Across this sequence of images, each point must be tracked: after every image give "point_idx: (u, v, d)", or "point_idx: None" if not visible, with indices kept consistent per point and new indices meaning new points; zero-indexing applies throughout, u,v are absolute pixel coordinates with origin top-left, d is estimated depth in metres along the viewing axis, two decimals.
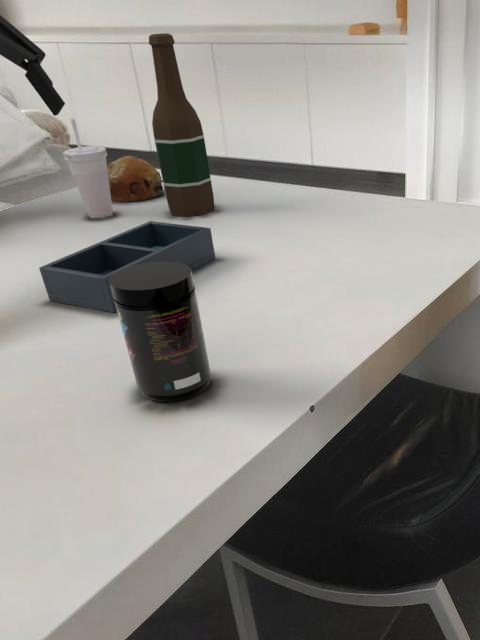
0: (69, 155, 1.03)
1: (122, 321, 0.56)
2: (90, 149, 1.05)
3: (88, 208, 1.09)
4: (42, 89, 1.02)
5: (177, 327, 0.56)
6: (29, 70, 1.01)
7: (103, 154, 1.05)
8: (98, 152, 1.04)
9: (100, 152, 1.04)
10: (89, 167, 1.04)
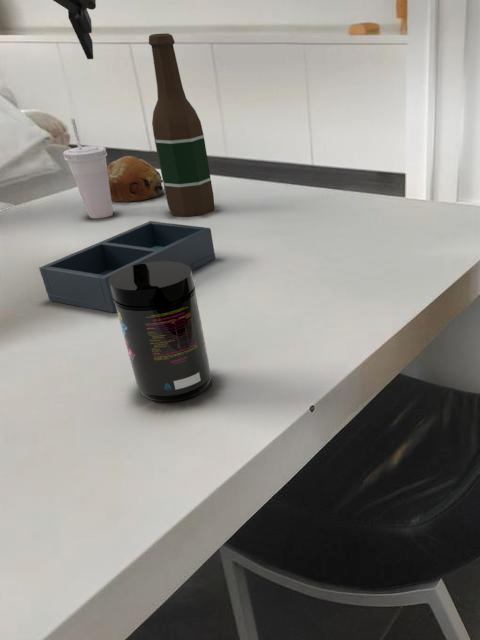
0: (69, 155, 1.03)
1: (122, 321, 0.56)
2: (90, 149, 1.05)
3: (88, 208, 1.09)
4: None
5: (177, 327, 0.56)
6: (68, 10, 0.83)
7: (103, 154, 1.05)
8: (98, 152, 1.04)
9: (100, 152, 1.04)
10: (89, 167, 1.04)
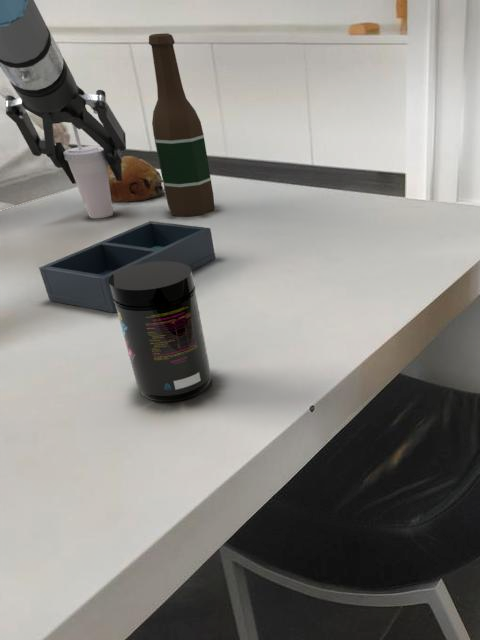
0: (69, 155, 1.03)
1: (122, 321, 0.56)
2: (90, 149, 1.05)
3: (88, 208, 1.09)
4: None
5: (177, 327, 0.56)
6: (104, 149, 1.04)
7: (103, 154, 1.05)
8: (98, 152, 1.04)
9: (100, 152, 1.04)
10: (89, 167, 1.04)
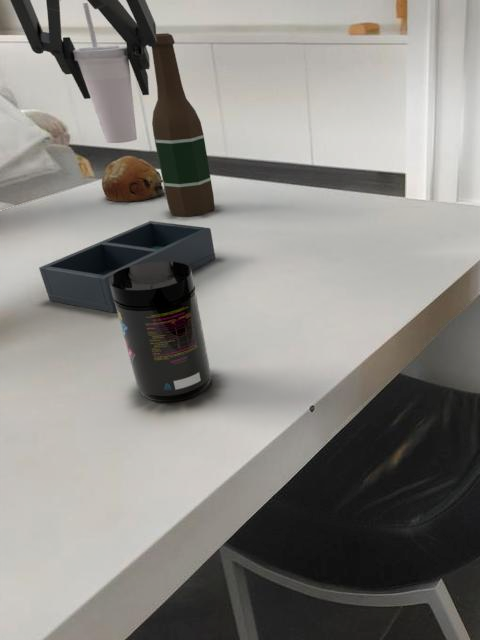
0: (81, 53, 0.77)
1: (122, 321, 0.56)
2: (108, 47, 0.79)
3: (105, 129, 0.83)
4: None
5: (177, 327, 0.56)
6: (127, 46, 0.79)
7: (126, 54, 0.79)
8: (119, 50, 0.78)
9: (122, 50, 0.78)
10: (107, 69, 0.78)
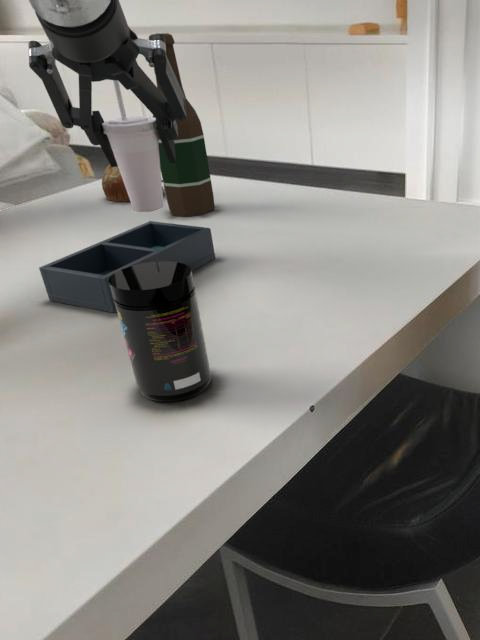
0: (110, 127, 0.77)
1: (122, 321, 0.56)
2: (137, 120, 0.79)
3: (133, 199, 0.83)
4: None
5: (177, 327, 0.56)
6: (156, 119, 0.79)
7: (155, 126, 0.79)
8: (149, 123, 0.78)
9: (151, 123, 0.78)
10: (136, 143, 0.78)
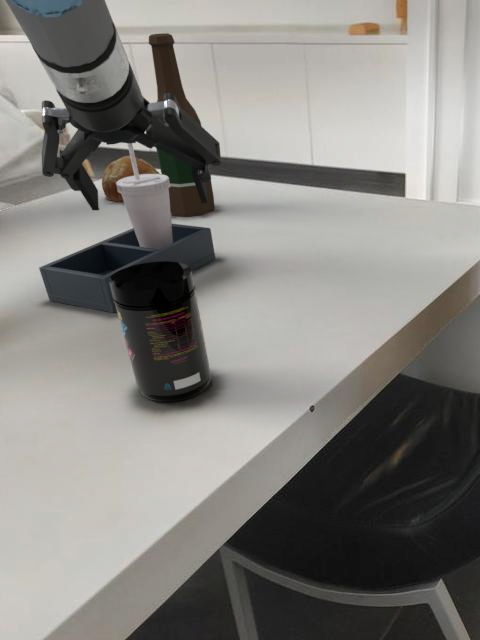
0: (124, 187, 0.81)
1: (122, 321, 0.56)
2: (150, 179, 0.83)
3: None
4: None
5: (177, 327, 0.56)
6: None
7: (166, 185, 0.83)
8: (161, 183, 0.82)
9: (163, 183, 0.82)
10: (149, 201, 0.82)
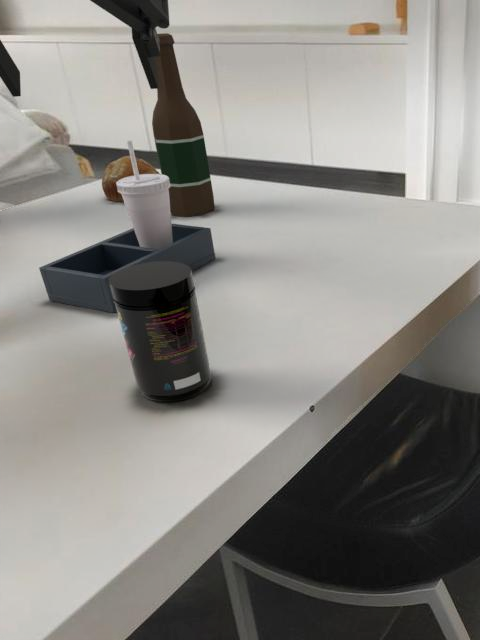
0: (125, 187, 0.81)
1: (122, 321, 0.56)
2: (150, 179, 0.83)
3: None
4: None
5: (177, 327, 0.56)
6: (132, 27, 0.63)
7: (166, 185, 0.83)
8: (161, 183, 0.82)
9: (163, 183, 0.82)
10: (149, 201, 0.82)
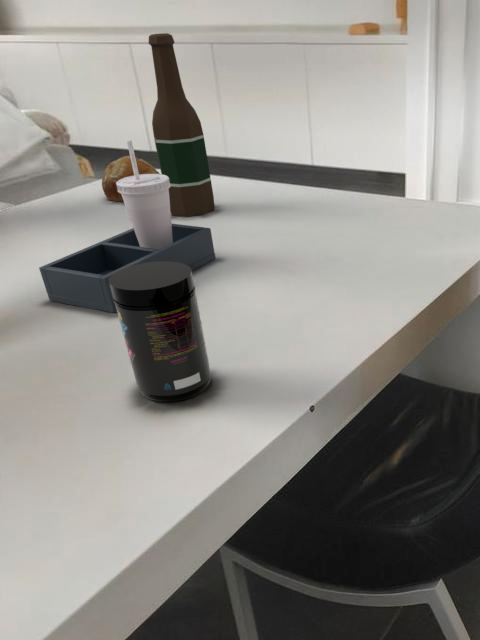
0: (125, 187, 0.81)
1: (122, 321, 0.56)
2: (150, 179, 0.83)
3: None
4: None
5: (177, 327, 0.56)
6: None
7: (166, 185, 0.83)
8: (161, 183, 0.82)
9: (163, 183, 0.82)
10: (149, 201, 0.82)
